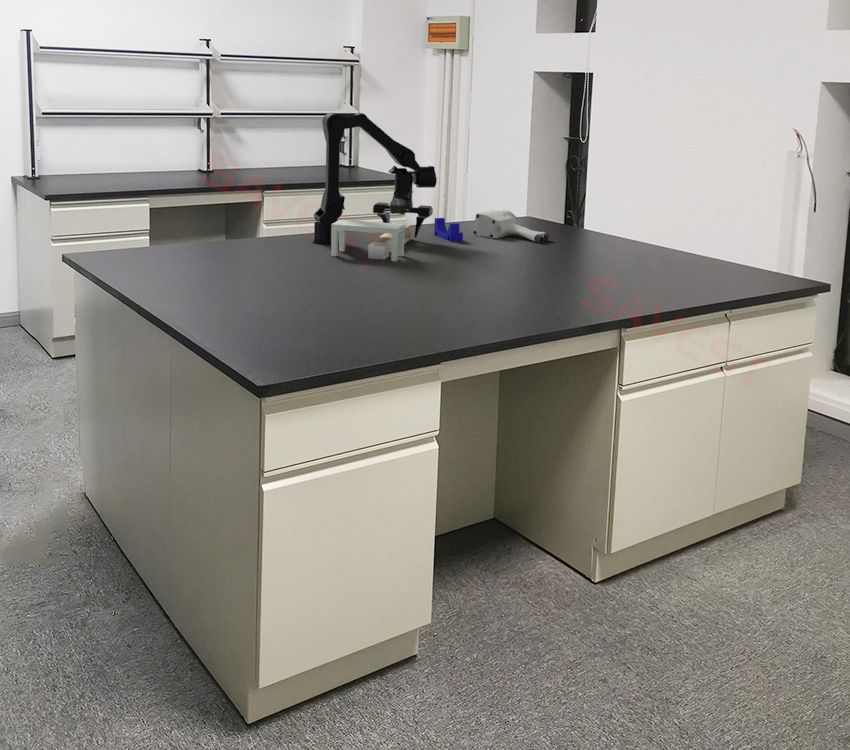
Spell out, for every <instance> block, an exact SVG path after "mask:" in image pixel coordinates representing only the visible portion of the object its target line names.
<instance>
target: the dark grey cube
mask: <svg viewBox="0 0 850 750" xmlns="http://www.w3.org/2000/svg"><path fill="white" fill-rule="evenodd" d="M367 247H368V249H367V255H368V256H367V257H368V259H372V260H375V259H376V260H386V259H387V258H388V257H390V256H389V255H390V253H389V244H388V243H379V242H376V241H375V242H374V241H372V242H370V244H368V246H367Z"/></svg>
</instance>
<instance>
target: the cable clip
mask: <svg viewBox="0 0 850 750" xmlns="http://www.w3.org/2000/svg"><path fill="white" fill-rule="evenodd" d="M448 224H449V225H448V229H447V227H446V219H445V217H434V225H433V226H434V229H433V230H434V231H433V235H434V237H437V238H440V239H442V238H443V239H442V240H446V241H447V240H448V242H450V243H451V242H453V241H455V242H463V239H464V232H462V231H460V223H458V222H450V223H448Z"/></svg>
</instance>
